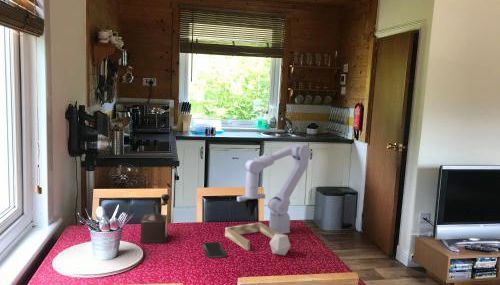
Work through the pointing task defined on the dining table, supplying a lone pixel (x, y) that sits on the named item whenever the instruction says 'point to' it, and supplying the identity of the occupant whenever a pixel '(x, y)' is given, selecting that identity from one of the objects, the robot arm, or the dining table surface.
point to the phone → (214, 250)
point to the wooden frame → (236, 232)
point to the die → (280, 244)
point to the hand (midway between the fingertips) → (250, 214)
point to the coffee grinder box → (155, 225)
